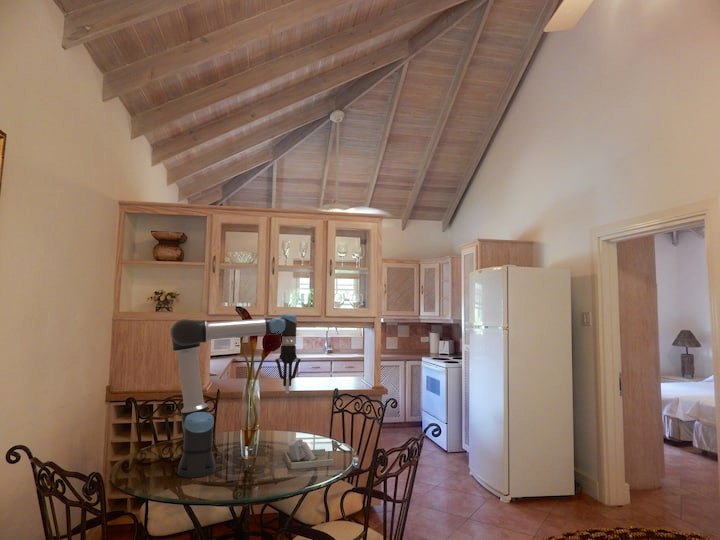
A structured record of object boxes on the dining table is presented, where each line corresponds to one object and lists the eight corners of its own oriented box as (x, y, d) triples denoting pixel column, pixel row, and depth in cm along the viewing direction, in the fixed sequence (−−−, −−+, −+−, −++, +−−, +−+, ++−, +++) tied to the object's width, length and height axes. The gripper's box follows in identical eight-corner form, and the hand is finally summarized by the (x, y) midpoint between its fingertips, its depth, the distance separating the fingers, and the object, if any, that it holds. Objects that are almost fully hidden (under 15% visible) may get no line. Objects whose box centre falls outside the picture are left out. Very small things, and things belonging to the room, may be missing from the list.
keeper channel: (289, 469, 189) (289, 462, 190) (283, 457, 206) (283, 450, 206) (333, 465, 195) (334, 458, 196) (324, 454, 212) (324, 447, 212)
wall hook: (311, 463, 196) (307, 440, 198) (291, 466, 199) (287, 443, 201) (319, 458, 204) (315, 436, 206) (299, 461, 207) (296, 439, 209)
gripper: (276, 345, 215) (274, 394, 212) (302, 345, 219) (301, 393, 216) (274, 344, 222) (272, 392, 219) (299, 344, 226) (298, 391, 223)
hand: (286, 392), depth 218 cm, fingers closed
